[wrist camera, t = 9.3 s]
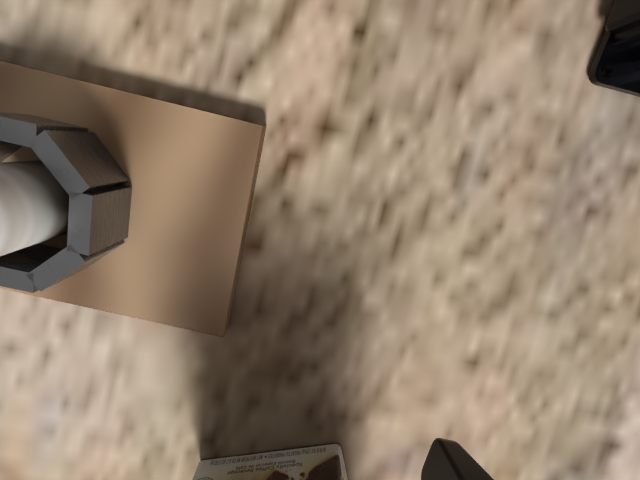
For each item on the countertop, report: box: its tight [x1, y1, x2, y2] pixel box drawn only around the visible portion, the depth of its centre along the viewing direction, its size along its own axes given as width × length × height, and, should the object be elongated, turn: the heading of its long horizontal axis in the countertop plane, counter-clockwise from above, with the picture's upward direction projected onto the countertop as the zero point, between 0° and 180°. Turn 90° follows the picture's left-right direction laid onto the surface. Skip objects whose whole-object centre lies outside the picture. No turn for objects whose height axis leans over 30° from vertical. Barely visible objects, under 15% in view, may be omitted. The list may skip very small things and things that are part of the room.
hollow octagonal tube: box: [0, 112, 132, 293], centre depth 16 cm, size 7×7×3 cm
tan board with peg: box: [0, 61, 266, 337], centre depth 15 cm, size 14×11×6 cm
